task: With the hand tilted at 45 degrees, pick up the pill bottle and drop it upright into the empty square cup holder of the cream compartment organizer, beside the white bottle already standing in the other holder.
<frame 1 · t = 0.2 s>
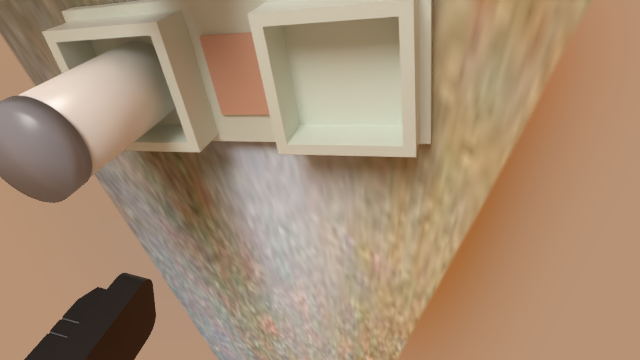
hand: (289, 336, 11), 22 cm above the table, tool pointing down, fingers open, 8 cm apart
cream compartment organizer: (246, 69, 32), on the table
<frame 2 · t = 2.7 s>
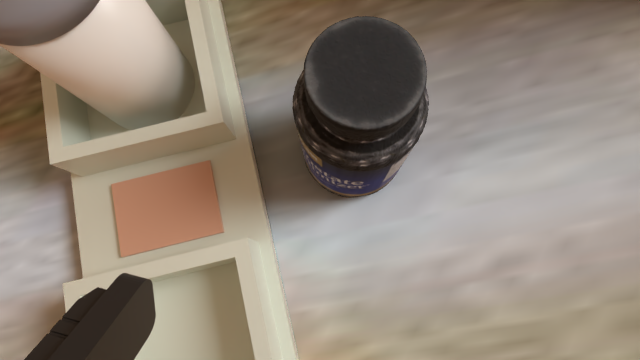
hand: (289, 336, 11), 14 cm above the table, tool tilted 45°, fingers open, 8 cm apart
cream compartment organizer: (175, 211, 26), on the table
pill bottle: (353, 151, 27), on the table
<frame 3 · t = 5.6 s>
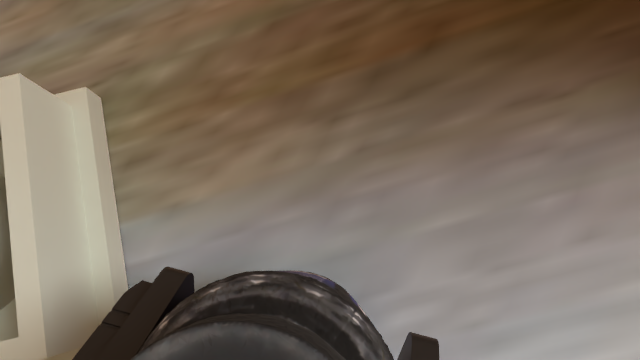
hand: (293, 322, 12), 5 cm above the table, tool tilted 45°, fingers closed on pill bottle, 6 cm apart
pill bottle: (296, 349, 17), on the table, touching gripper
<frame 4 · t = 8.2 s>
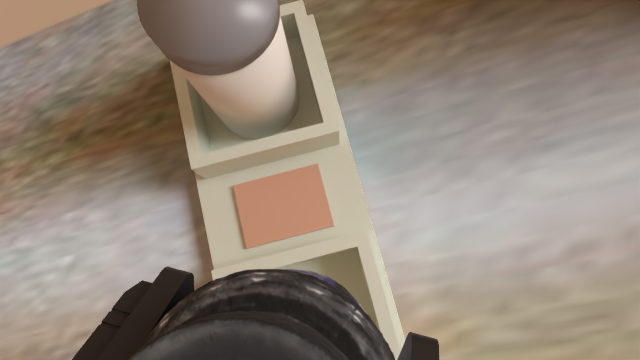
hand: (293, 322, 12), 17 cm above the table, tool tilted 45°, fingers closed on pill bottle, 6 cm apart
cream compartment organizer: (285, 208, 30), on the table
pill bottle: (296, 348, 17), point 12 cm above the table, touching gripper
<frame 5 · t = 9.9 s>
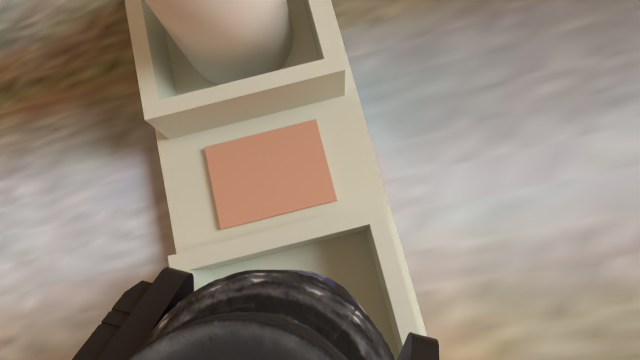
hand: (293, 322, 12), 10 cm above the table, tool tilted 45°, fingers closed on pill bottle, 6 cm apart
cream compartment organizer: (273, 178, 23), on the table
pill bottle: (296, 348, 17), point 5 cm above the table, touching gripper
when the fingers open (8 cm above the table, at t = 11.1 s): pill bottle drops 1 cm, resting on cream compartment organizer.
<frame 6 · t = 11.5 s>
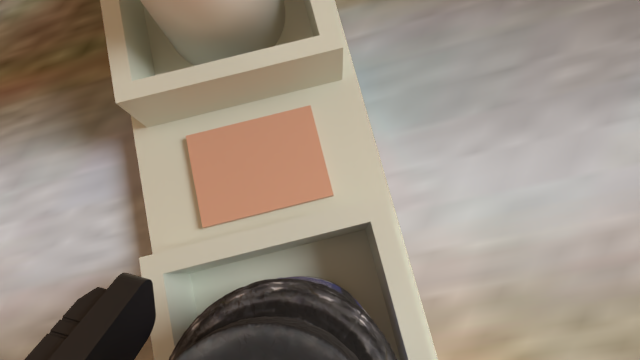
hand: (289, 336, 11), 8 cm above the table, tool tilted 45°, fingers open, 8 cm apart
cream compartment organizer: (263, 172, 21), on the table
pill bottle: (304, 348, 18), point 1 cm above the table, touching cream compartment organizer
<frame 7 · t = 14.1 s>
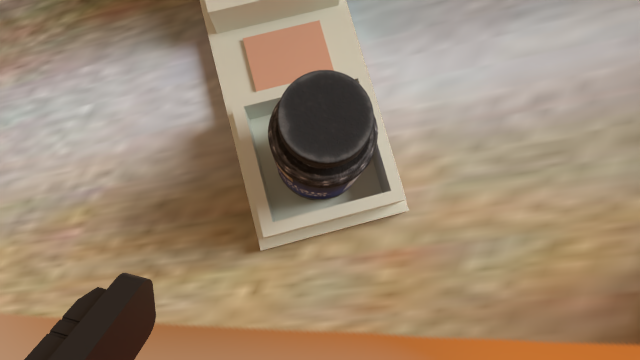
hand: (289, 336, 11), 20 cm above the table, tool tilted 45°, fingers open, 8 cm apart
cream compartment organizer: (289, 64, 34), on the table
pill bottle: (319, 160, 31), point 1 cm above the table, touching cream compartment organizer
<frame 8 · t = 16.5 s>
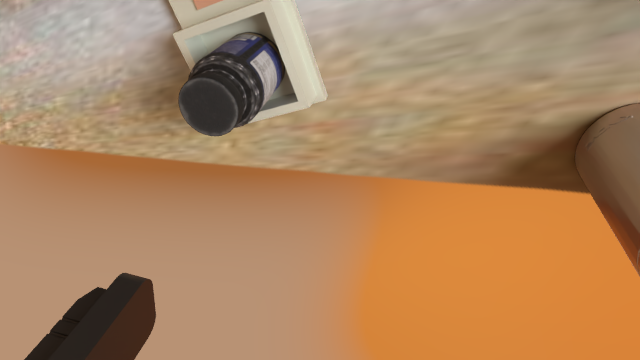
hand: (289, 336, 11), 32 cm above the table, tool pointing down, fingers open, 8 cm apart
pill bottle: (256, 62, 41), point 1 cm above the table, touching cream compartment organizer
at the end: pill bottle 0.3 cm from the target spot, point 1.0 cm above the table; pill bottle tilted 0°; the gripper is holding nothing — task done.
